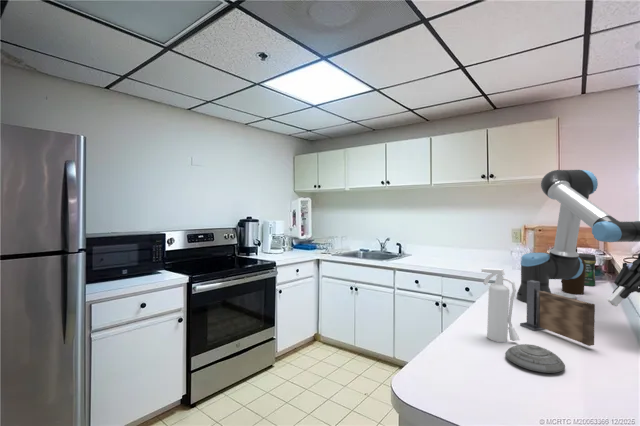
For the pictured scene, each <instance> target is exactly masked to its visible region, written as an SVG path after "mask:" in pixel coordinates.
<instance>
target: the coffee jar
mask: <svg viewBox="0 0 640 426" xmlns="http://www.w3.org/2000/svg"><path fill="white" fill-rule="evenodd" d="M577 253H578V252H577ZM578 254H579V256H580V257H581V258H582V259H583V260H584V261H585V264H586V270H585V283H584V286H585V287H586V286H588V287H594V286H596V274H595V273H596V272H595V267H596V263H597V258H596V255H595V254H592V253H578Z"/></svg>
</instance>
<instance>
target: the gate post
mask: <svg viewBox="0 0 640 426" xmlns="http://www.w3.org/2000/svg"><path fill="white" fill-rule="evenodd" d="M538 290H539V291H540V282H538V281H534V280H530V281H527V302H526V321H525V322H521V323H519V326H520V327H522V328H525V329H527V330H530V331H532V332H537V331H543V330H544V331H545V330H546V329H543V328H541V327H539V326H537V291H538Z"/></svg>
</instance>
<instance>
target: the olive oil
mask: <svg viewBox="0 0 640 426" xmlns="http://www.w3.org/2000/svg"><path fill="white" fill-rule="evenodd" d="M576 252H577V253H578V246H576ZM579 258H580V259H581V260H582V263H583V271H582V273H581V275H580V276H579V277H577V278H574V279H568V280H565V279H560V280H561V281H560V282H561V291H562V293H568V294H572V295H575V296H577V295H578V296H579V295H582V296H583V295H584V293H585V285H584V283H585V270H586V264H585V261H584V260H583V259H582V258H581V257H580V256H579Z"/></svg>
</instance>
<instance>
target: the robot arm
mask: <svg viewBox="0 0 640 426" xmlns="http://www.w3.org/2000/svg"><path fill="white" fill-rule="evenodd" d="M598 184H599V182H598V178H597V176H596V175H595V174H594V173H593V172H592V171H590V170H585V169H555V170H554V169H553V170H551V171H549V172H548V173H546V174H545V175H544V176H543V177H542V179H541V181H540V188H541V190H542V193H543V194H545V196H547V197H548V198H549V199H551V200H554V201H555V200H556V201H557V202H558V203H560V206H559V212H558V219H557V226H556V233H555V239H554V245H553V246H554V247H553V248H551V249H550V250H549V253H547V252H529V253H525V254H523V255H522V256H521V260H520V285H519V288H518V291H516V292H517V293H516V299H517V300H518V301H521V302H523V303H527V281H530V280H534V281H538V282H540V291H545V292H549V293H552V291H551V289H550V280H562V279H565V280H568V279H574V278H577V277H579V276H580V275H581V273H582V271H583V263H582V260H581V259H580V258H579V254H578V251H577V252H576V247H577V244H578V239H579V234H580V233H579V232H580V226H581V221H582V222H583V223H584V224H586V225H587V226H588V227H590V229H591V234H592V235H593V238H594V239H595V240H597V241H599V242H603V243H604V242H605V243H623V242H628V243H630V242H633V243H634V242H636V243H637V242H638V243H639V242H640V220H635V221H620V220H618V219H617V218H615V217H613V216H612V215H611V214H609V213H608V212H606V211H605V210H603V209H602V208H601V207H599V206H598V205H596V204H595V203H594V202H592V201H591V200H589V198H590V195H592V194H594V193H595V192H597V189H598V187H599V185H598ZM613 283H614V284H615V285H616V286H617V287H616V288H615V289H614V290H613V291H612V293H611V295H610V296H609V297H608V298H607V299H606V300H607V301H608V302H609V304H610V305H611V306H613V307H617V306H619V305H620V304H621V303H622V301H624V300H625V299H628V297H629V296H630V295H631V294H633V293H635V292H636V293H640V252H639V253H637V259H635V260H633V261H632V262H631V263H627V262H623V263H622V268H621V270H620V271H619V273H618V275H617V277H616V278H615V280H614V282H613Z"/></svg>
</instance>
